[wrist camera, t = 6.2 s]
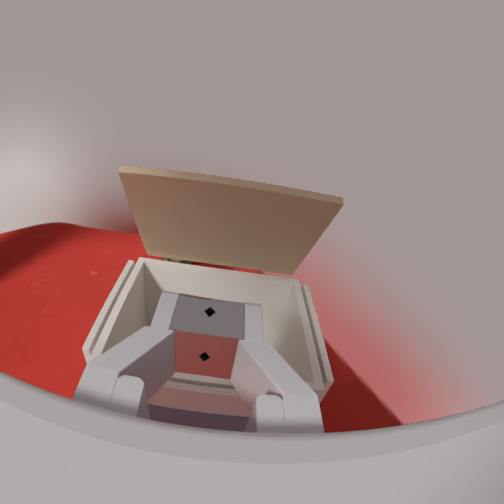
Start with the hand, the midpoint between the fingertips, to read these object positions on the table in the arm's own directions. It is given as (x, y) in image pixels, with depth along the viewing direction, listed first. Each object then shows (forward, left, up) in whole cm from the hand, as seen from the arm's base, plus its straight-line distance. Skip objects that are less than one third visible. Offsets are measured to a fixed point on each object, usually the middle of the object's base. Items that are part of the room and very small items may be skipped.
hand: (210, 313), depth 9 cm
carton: (-5, +4, -19) cm, 20 cm away
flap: (-7, +5, -2) cm, 9 cm away
